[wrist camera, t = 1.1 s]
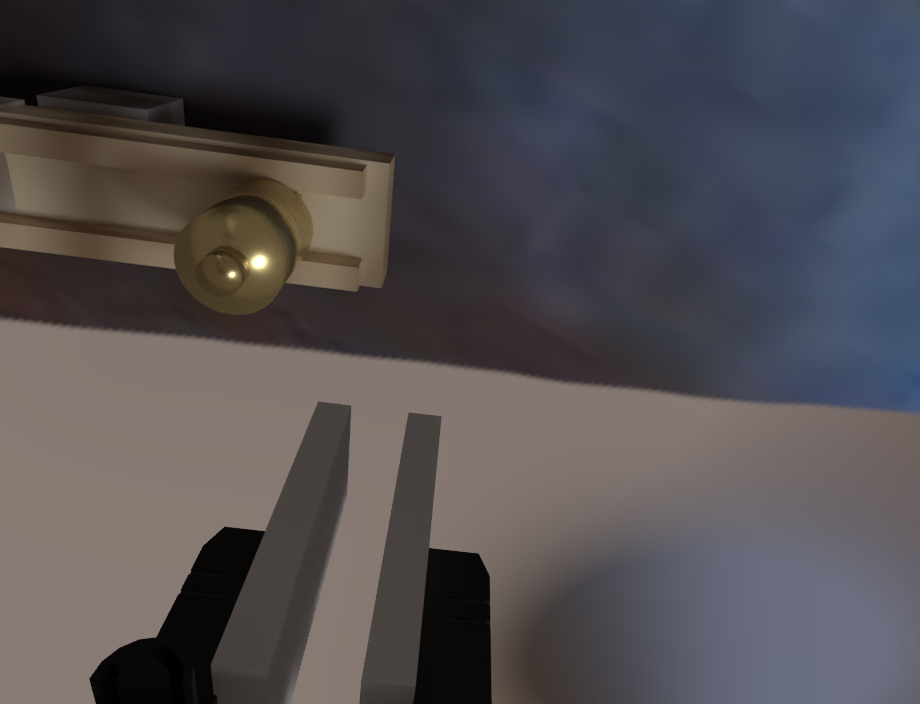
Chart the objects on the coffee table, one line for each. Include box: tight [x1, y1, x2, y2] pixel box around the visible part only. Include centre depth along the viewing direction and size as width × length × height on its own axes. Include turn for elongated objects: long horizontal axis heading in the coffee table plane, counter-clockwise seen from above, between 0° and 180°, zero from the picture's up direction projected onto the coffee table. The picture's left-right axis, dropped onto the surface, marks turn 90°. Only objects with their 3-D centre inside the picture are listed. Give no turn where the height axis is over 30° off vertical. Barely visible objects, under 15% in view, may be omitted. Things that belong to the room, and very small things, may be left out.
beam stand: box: [0, 85, 395, 292], centre depth 31 cm, size 28×7×7 cm, turn 83°
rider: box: [174, 179, 313, 315], centre depth 26 cm, size 4×4×7 cm
